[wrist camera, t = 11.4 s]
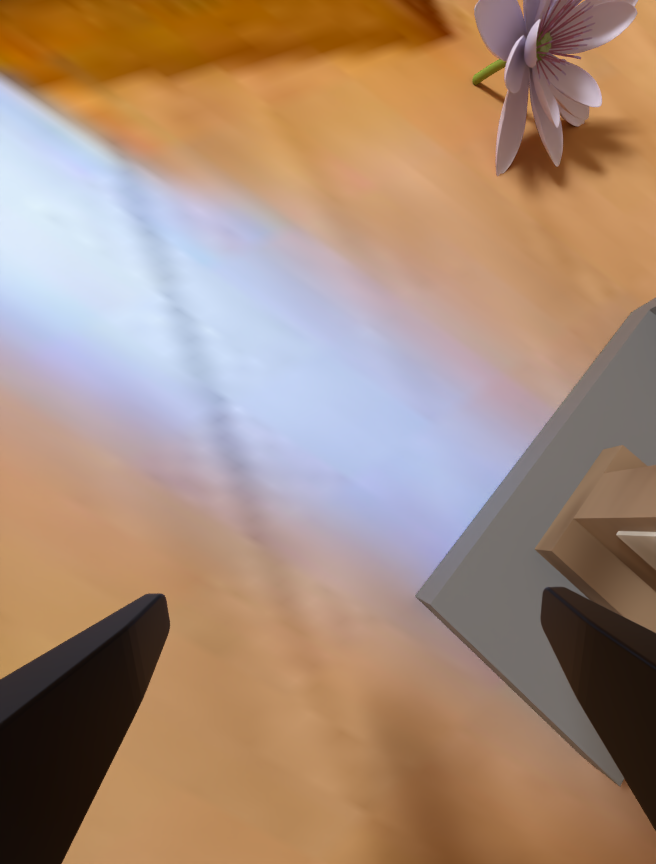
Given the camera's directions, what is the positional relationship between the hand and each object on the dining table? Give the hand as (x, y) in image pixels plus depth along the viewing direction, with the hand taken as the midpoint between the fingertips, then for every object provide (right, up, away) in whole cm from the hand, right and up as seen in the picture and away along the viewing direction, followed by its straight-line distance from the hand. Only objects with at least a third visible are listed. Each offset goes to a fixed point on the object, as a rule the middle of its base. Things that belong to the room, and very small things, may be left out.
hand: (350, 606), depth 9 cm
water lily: (+14, +27, +19) cm, 36 cm away
